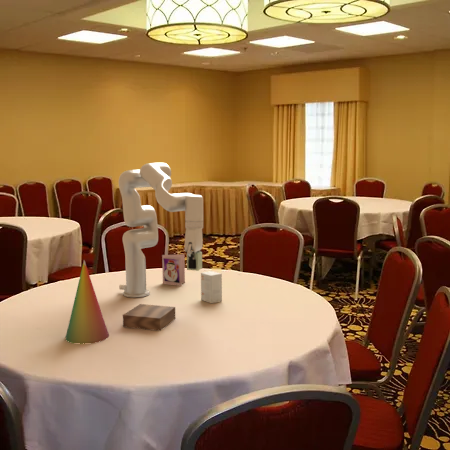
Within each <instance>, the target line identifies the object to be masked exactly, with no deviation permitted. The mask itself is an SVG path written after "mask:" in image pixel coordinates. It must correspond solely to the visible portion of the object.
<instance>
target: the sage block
mask: <svg viewBox="0 0 450 450" xmlns="http://www.w3.org/2000/svg"><path fill="white" fill-rule="evenodd" d="M191 252H194V251H192V250H191ZM191 254H193V253H191ZM195 259H196V269H189V268H188V255H187V254H186V271H194V272H195V271H200V270H202V269H203V252H202V251H201V252H196V255H195Z"/></svg>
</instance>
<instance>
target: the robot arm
mask: <svg viewBox="0 0 450 450" xmlns="http://www.w3.org/2000/svg"><path fill="white" fill-rule="evenodd" d="M171 176H172V170H171V167H170V166H169V165H168V164H167V163H166V162H149V163H145V164H143V165H142V166H141V167H140V169H139V168H138V169H128V170H124V171H123V172H122V173H120V175H119V177H118V189H119V192H120V195H121V200H122V212H123V220H124V223H125V225H126V226H127V227H141V226H143V227H142V228H134V229H130V230H127V231H125V232H124V233H123V235H122V244H123V249H124V256H125V258H124V259H125V263H124V264H125V284H119V290H122V291H123V292H122V295H123V296H124V297H127V298H143V297H147V296H149V295H150V293H151V292H150V290H149V289H147V265H146V264H147V262H146V256H145V253H143V251H142V249H145V248H146V249H147V248H152V247H155V246H156V245H158V242H159V227H158V218H157V212H156V210H155V208H154V207H153V206H151V205H148V204H146V205H145V204H144V205H142V202H141V196H140V194H139V192H138V190H137V189H138V188H152V189H153V190H154V191H155V196H154V197H155V199H156V201H157V204H159V205H160V207H162V208H163V210H166V211H167V212H169V213H175V212H185V213H184V214H185V215H184V217H185V218H184V220H185V226H184V227H185V234H184V235H185V236H184V252H185V253H186V256H187V255H188V268H189V269H196V259H195V255H196V252H202V250H203V229H204V197H203V196H202V195H201V194H194V193H191V192H180V193H178V192H177V193H170V192H169V191H170V190H171V188H172V186H173V180H172V178H171ZM191 251H194V252H191ZM191 253H193V254H191Z"/></svg>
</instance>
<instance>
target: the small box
mask: <svg viewBox="0 0 450 450" xmlns="http://www.w3.org/2000/svg"><path fill="white" fill-rule="evenodd" d="M222 280H223V278H222V273H220V272H218V271H217V272H216V271H213V270H209V271H203V272H202V271H201V272H200V300H201V301H204V302H207V303H210V304H216V303H219V302H222V301H223V287H222V285H223V281H222Z"/></svg>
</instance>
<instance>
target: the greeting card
mask: <svg viewBox="0 0 450 450" xmlns="http://www.w3.org/2000/svg"><path fill="white" fill-rule="evenodd" d="M161 257H162V258H161V259H162V261H161V262H162V267H161V268H162V284H164V285H169V286H171V285H172V286H179V287H182V285H183V284H185V283H186V271H185V270H186V269H185V268H186V267H185V266H186V264H185V260H186V259H185V254H184V253H183V254H162V255H161Z"/></svg>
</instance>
